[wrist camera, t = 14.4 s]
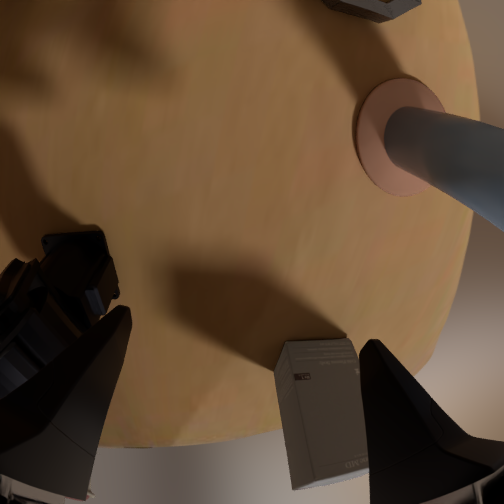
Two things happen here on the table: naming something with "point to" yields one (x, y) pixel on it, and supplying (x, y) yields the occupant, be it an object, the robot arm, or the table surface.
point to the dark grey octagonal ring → (373, 8)
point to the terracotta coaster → (373, 128)
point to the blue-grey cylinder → (451, 156)
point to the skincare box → (321, 412)
